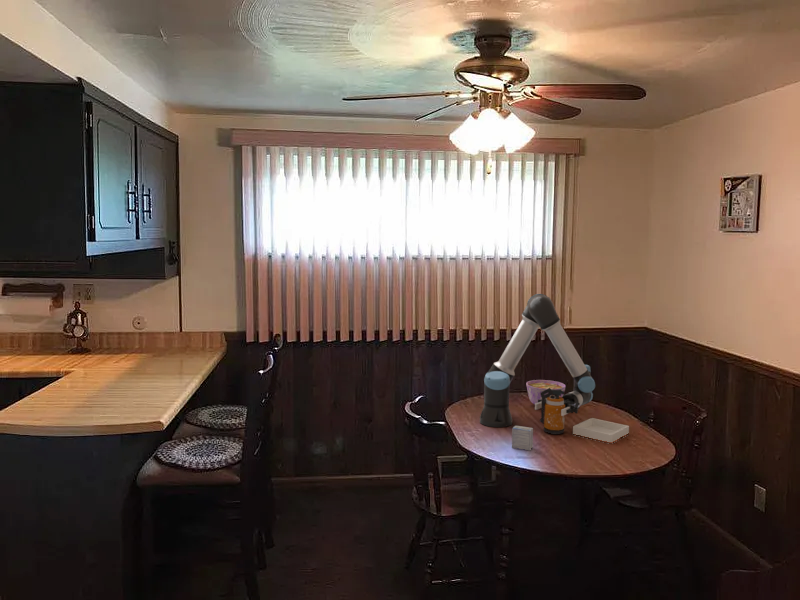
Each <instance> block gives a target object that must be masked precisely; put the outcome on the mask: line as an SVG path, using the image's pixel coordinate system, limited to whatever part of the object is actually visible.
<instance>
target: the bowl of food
mask: <svg viewBox="0 0 800 600" xmlns="http://www.w3.org/2000/svg"><path fill="white" fill-rule="evenodd" d="M548 388H550V389H556V390H559V389H561V390H562V391H563V392H564V393H565V391H566V384H564V383H563V382H560V381H556V380H555V381H554V380H549V379H548V380H545V379H536V380H535V379H533V380H529V381H526V389H527V395H528V398H529V401H530V402H531V403H532V404H533V405H535V404H536V403H538V400H540V399H542V397H541V392H543V391H545V390H547V389H548ZM546 394H548V393H546ZM546 394H545V395H546ZM563 395H564V394H561V396H559V397H562V396H563ZM546 399H547V398H546ZM544 409H545V406H544Z"/></svg>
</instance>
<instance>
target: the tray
mask: <svg viewBox="0 0 800 600" xmlns="http://www.w3.org/2000/svg"><path fill="white" fill-rule="evenodd" d="M628 433H629V434H630V426H629V425H627V424H622V423H617V422H613V421H608V420H605V419H604V420H603V419H598V418H595V417H591V418H588V419H586V420H584V421H581V422H579V423H577V424H575V425H573V426H572V435H573V434H576V435H581V436H585V437H589V438H593V439H598V440H602V441H607V442H613V441H615V440H617V439H619V438H620V437H622V436H624V435H626V434H628ZM576 435H575V436H576Z"/></svg>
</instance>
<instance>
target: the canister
mask: <svg viewBox="0 0 800 600" xmlns="http://www.w3.org/2000/svg"><path fill="white" fill-rule="evenodd" d="M546 393H548V394H546ZM545 394H546V395H545ZM561 394H563V395H565V391H564V392H563V391H562V390H561V389H559V390H556V389H550V388H548V389H547V390H545V391H543V392H541V397H542V402H541V405H542V408H541V410H540V411H541V414H540V415H541V416H540V417H541V418H540V419H539V422H540V423H541V424H542V425H543V431H544V432H546V433H547V432H548V433H547V434H549V433H551V434H550V435H560V434H564V432H565V416H566V415H564V416H561V410H562V409H564V408H565V405H564V399H563V398H562V397H559V396H561ZM546 398H547V399H546ZM545 399H546V403H545V408H544V401H545Z"/></svg>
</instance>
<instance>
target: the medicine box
mask: <svg viewBox="0 0 800 600" xmlns="http://www.w3.org/2000/svg"><path fill="white" fill-rule="evenodd" d="M511 431H512V432H511V434H512V435H511V448H512V449H517V448H519V449H518V450H523V449H525V451H531V450H532V449H531V448H533V447H534V445H533V444H534V443H533V441H534V439H533V438H534V437H533V436H534V428H533V427H527V426H521V425H514V426H513V427H512V430H511Z"/></svg>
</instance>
